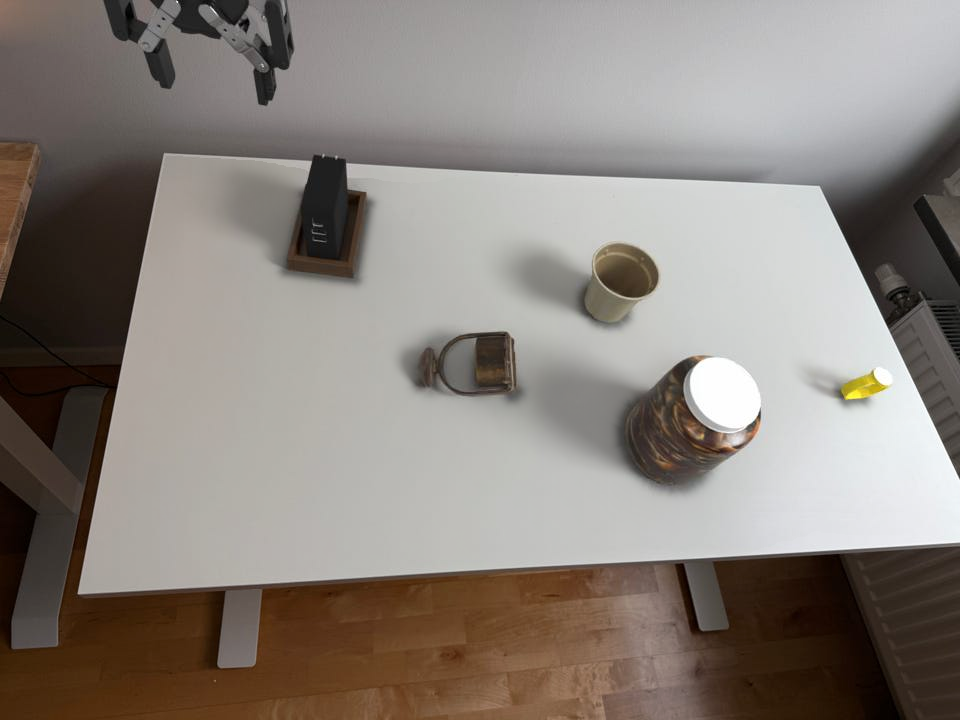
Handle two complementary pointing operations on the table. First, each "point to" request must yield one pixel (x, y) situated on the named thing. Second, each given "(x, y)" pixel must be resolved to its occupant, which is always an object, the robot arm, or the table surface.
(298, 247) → the tray
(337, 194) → the electronic device
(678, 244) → the table surface
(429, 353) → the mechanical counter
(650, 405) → the jar
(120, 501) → the table surface
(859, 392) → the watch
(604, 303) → the flower pot
